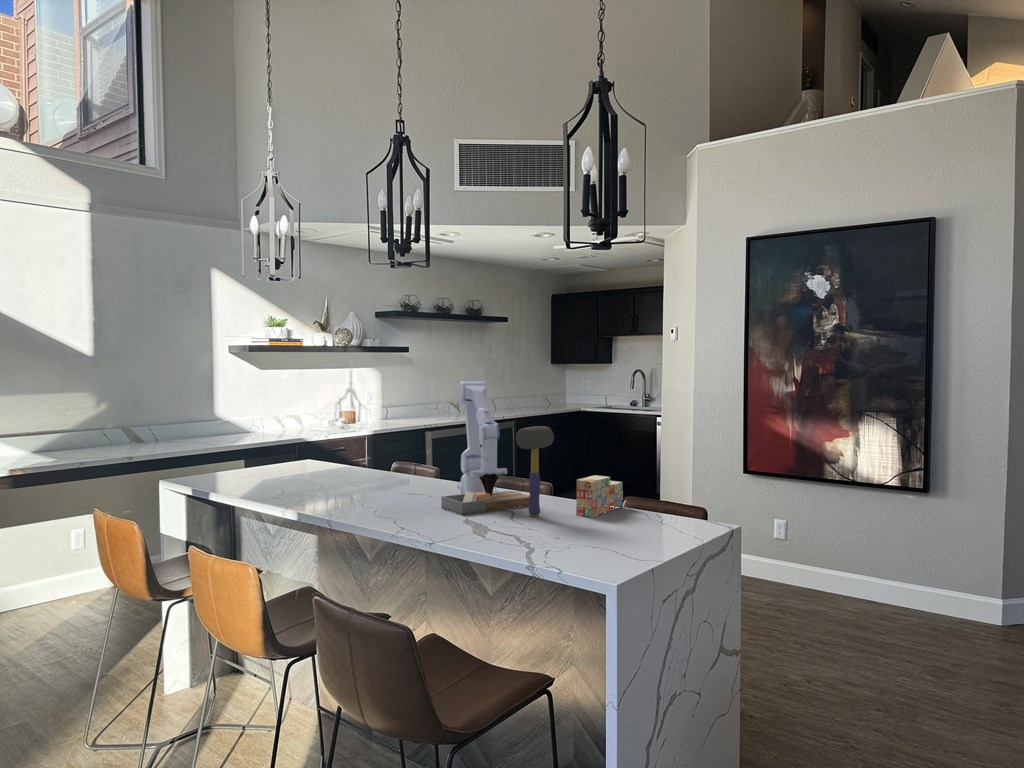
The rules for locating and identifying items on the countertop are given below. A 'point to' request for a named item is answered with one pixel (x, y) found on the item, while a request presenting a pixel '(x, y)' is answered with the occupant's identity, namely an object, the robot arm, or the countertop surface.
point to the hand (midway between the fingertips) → (488, 495)
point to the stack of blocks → (598, 495)
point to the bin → (462, 504)
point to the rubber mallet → (534, 459)
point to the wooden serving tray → (506, 500)
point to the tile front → (470, 497)
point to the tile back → (483, 496)
